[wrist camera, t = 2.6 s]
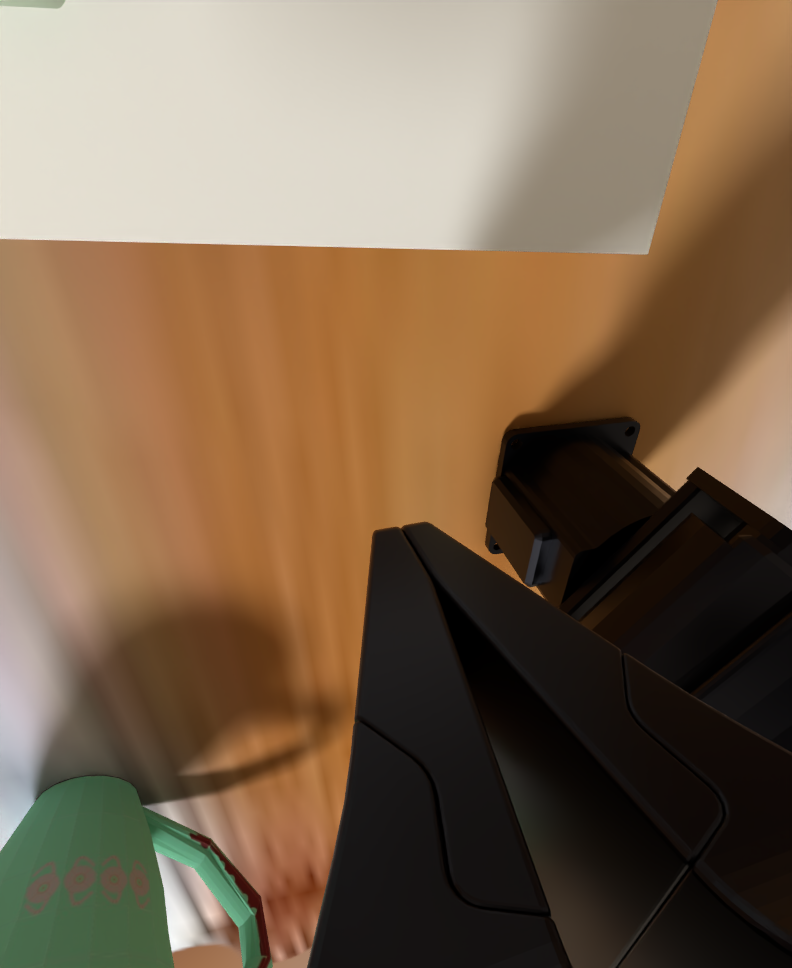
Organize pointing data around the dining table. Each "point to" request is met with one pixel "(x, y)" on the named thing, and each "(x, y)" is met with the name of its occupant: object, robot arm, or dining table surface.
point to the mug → (107, 882)
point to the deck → (345, 121)
